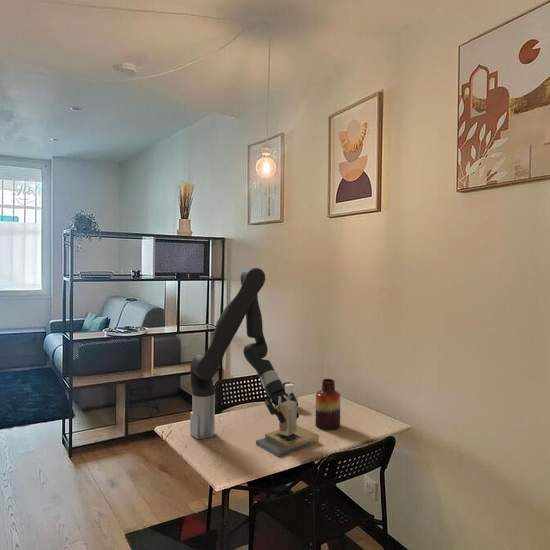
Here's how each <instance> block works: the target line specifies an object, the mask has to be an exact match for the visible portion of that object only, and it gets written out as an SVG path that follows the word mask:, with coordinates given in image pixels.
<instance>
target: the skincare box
mask: <svg viewBox="0 0 550 550" xmlns="http://www.w3.org/2000/svg"><path fill="white" fill-rule="evenodd" d="M279 409H280V412H281V413H282V415H283V417H284V419H285V422H284V423H281V422H280V421H279V420H278V422H279V428H278V430H279V433H280V434H282V435H285V436H289V435H291V434H293V433H295V432H296V431H297V426H298V425H297V412H298V410H297V409H298V406H297V402H294V401H291V400H287V401H285V402H283V403H281V404H279Z"/></svg>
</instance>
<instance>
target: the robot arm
mask: <svg viewBox="0 0 550 550" xmlns="http://www.w3.org/2000/svg"><path fill="white" fill-rule="evenodd" d="M265 283H266V274H265V272H264V271H263V269H261V268H260V267H250V268H246V269H244V270H243V271H241V274H240V284H241V287H240V289H239V290H238V292H237V294H236V295H235V297H234V298H233V299H231V301H230V302H229V303H228V304H227V305H226V307H224V309H223V311H222V312H221V314H220V316H219V317H218V319H217V321H216V323H215V327H214V330H213V335H212V340H211V343H210V345H209V347H208V348H207V350H206V352H205V353H198V354H197V355H195V356H194V357H193V358H192V360H191V364H190V386H191V390H192V394H191V395H192V401H191V403H192V407H191V408H192V409H191V410H192V411H190V416H189V417H190V418H189V421H190V423H189V425H190V427H189V433H190V436H192V437H193V438H195V439H197V440H200V439H203V440H204V439H210V438H212V437H214V436H215V431H216V430H215V429H216V428H215V426H216V425H215V424H216V422H215V421H216V417H215V416H216V415H215V413H216V412H215V411H216V387H215V384H214V381H213V377H215V375H216V374H217V372H218V370H219V368H220V366H221V363H222V361H223V359H224V356H225V354H226V351H227V350H228V348H229V346H230V345H231V343H232V340H233V339H234V337H235V335H236V334H237V332H238V330H239V328H240V327H241V325H242V323H243V321H244V319H245V322H246V326H245V327H246V337H248V338H250V339H254V341H255V342H253V343H247V344H246V345H245V346H244V348H243V357H244V358H245V360H246V361H247V362H248V363H249V364H250V366H251V367H252V368H253V369H254V370H255V371H256V373H257V375H258V377H259V379H260V383H261V385H262V387H263V389H264V391H265V393H266V395H267V399H266V400H265V401H264V404H265V406H266V408H267V409H268V411H269V413H270V414H271V416H273V415H275V416H276V417H277V420H278V422H279V421H280V422H281V423H284V422H285V419H284V417H283V415H282V413H281V412H280V409H279V404H281V403H283V402H285V401H287V400H291V401H294V402H297V400H296V398H295V396H294V394H293V393H291V394H287V393H286V392H285V388H284V386H283V382H282V380H281V379H280V376H279V375H278V373H277V372H276V370H275V368H274V366H273V364H272V363H271V361H270V360H269V359H264V358H266V356H267V355H268V350H269V349H268V345H267V342H266V339H265V335H264V330H263V329H264V328H263V316H262V312H261V308H260V304H259V298H258V293H260V291H261V290H262V288H263V286H264V285H265ZM288 398H289V399H288ZM297 407H299V402H297ZM299 417H300V413H299V412H298V411H297V419H299Z"/></svg>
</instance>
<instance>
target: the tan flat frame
mask: <svg viewBox="0 0 550 550" xmlns="http://www.w3.org/2000/svg"><path fill="white" fill-rule="evenodd" d="M319 435H320V434H318V433H315V432H313V431H310V430H308V429H306V428H304V427H303V426H299V425H297V431H296V432H295V433H293V434H291V435H289V436H285V435H282V434H280V433H279V429H277V430H274V431H273V430H272V431H270V432H267V433H265V434H264V437H262V438H260V439H257V440H255V445H256V446H259V448H261V449H263V448H264V450H266V451H268V452H269V453H270V454H272V453H273V455H274V454H275V455H274V456H276V457H279V456H280V457H282V455H283V456H285V454H286V455H288V454H291V453H293V452H296V451H298V450H302V449H305V448H307V446H308V447H310V446H314V445H315V443H316V444H318V442H319V443H320V441H319V440H320V436H319ZM285 439H289V440H290V441H287V440H285ZM280 457H279V458H280Z"/></svg>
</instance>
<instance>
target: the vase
mask: <svg viewBox="0 0 550 550" xmlns="http://www.w3.org/2000/svg"><path fill="white" fill-rule="evenodd" d="M335 381H336V380H334V379H332V378H323V379H322V382H321V389H320V390H318V391H316V393H315V423H314V424H315V427H316V428H317V429H318V430H319V429H320V430H321V431H322V430H323V431H327V432H328V431H330V432H331V431H337V430H339V429H340V427H341V398H342V397H341V393H340V392H339V391H337V390H336V384H335V383H336V382H335Z"/></svg>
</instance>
